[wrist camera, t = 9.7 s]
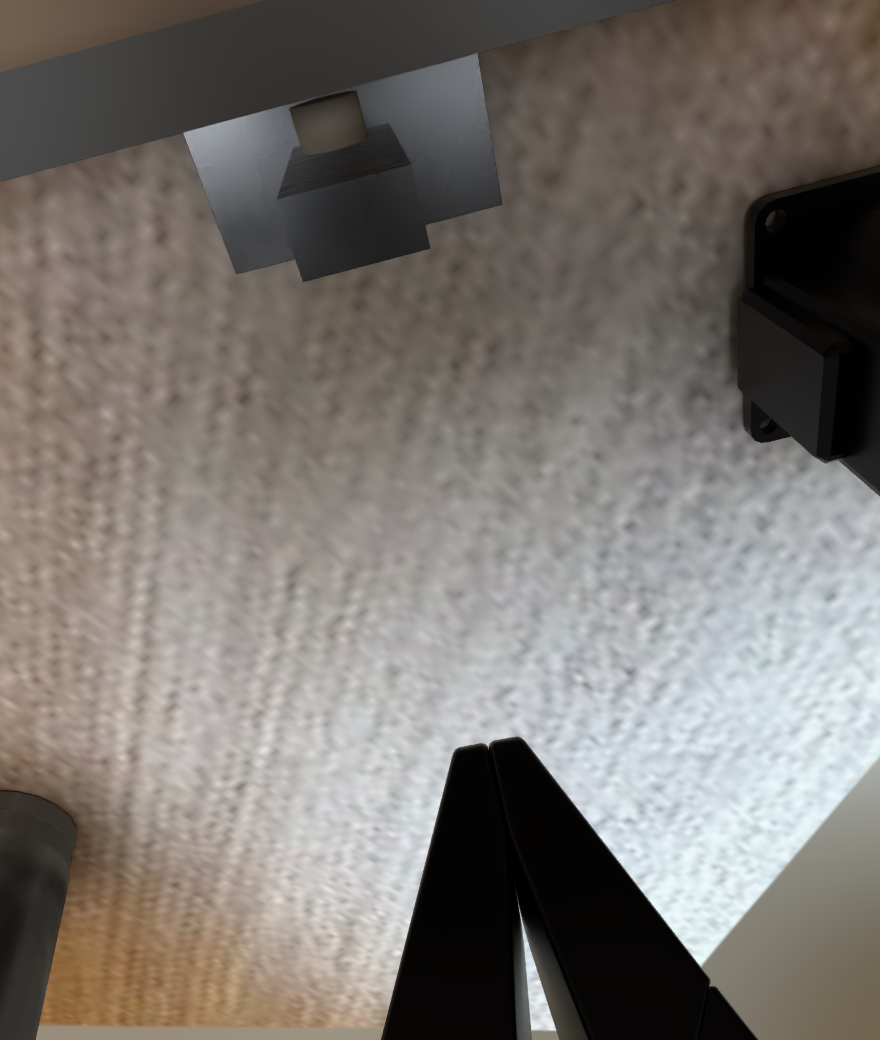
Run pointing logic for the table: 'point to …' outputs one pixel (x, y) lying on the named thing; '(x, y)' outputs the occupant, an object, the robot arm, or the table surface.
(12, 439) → the table surface
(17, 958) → the beverage cup
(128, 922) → the table surface
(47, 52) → the grey tray
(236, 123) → the stand
